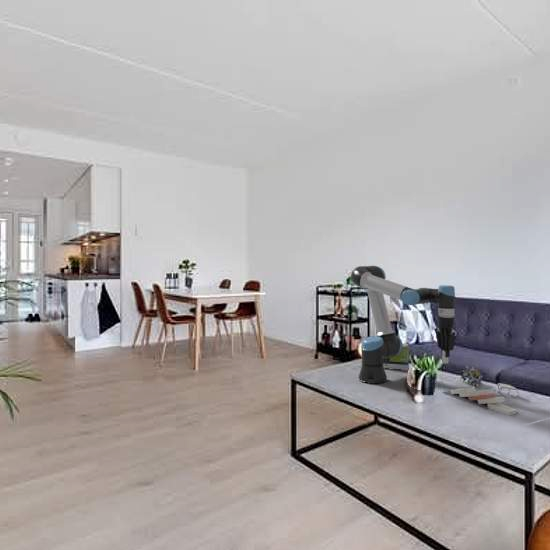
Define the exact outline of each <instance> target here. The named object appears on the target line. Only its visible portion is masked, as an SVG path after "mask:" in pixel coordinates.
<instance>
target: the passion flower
mask: <svg viewBox="0 0 550 550" xmlns="http://www.w3.org/2000/svg"><path fill="white" fill-rule="evenodd" d="M465 367H466V370H461V372H460V374H461V377H460V380H462V382H463V383H465V381H466V380H467V379H468V380H467V382H468V384H471V386H472V387H476V388H477V387H479V384H483V375H482V374H481V373H480V370H479V369H478V370H477V369H475V368H474V367H469V366H468V365H466V366H465ZM481 380H482V381H481Z"/></svg>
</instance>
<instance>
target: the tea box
mask: <svg viewBox="0 0 550 550" xmlns="http://www.w3.org/2000/svg"><path fill="white" fill-rule="evenodd" d="M409 345H410V344H409V343H402V351H401V352H400V354H399V355H397V356H395V357H390V358H386V359H383V367H384V368H393V369H392V370H394V369H401V370H400V371H406V370H407V369H408V370H409V368H410V346H409ZM408 367H409V368H408Z"/></svg>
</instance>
